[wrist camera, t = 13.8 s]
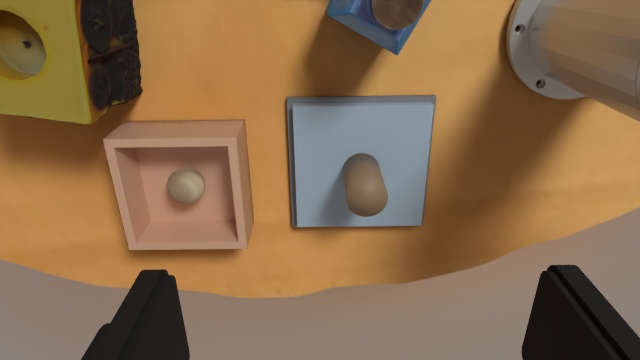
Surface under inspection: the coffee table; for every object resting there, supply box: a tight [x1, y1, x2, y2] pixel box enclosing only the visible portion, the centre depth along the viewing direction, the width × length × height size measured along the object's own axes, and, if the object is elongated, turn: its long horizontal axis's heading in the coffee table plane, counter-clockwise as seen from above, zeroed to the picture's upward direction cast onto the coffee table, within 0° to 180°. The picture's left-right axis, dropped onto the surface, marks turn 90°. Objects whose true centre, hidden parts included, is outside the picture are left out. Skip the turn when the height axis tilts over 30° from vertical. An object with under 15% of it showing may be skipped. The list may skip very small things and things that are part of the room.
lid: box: [293, 102, 434, 227], centre depth 41 cm, size 13×13×7 cm
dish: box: [103, 120, 254, 250], centre depth 43 cm, size 12×12×5 cm
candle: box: [0, 0, 143, 125], centre depth 35 cm, size 10×10×10 cm
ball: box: [167, 167, 205, 204], centre depth 43 cm, size 4×4×4 cm
